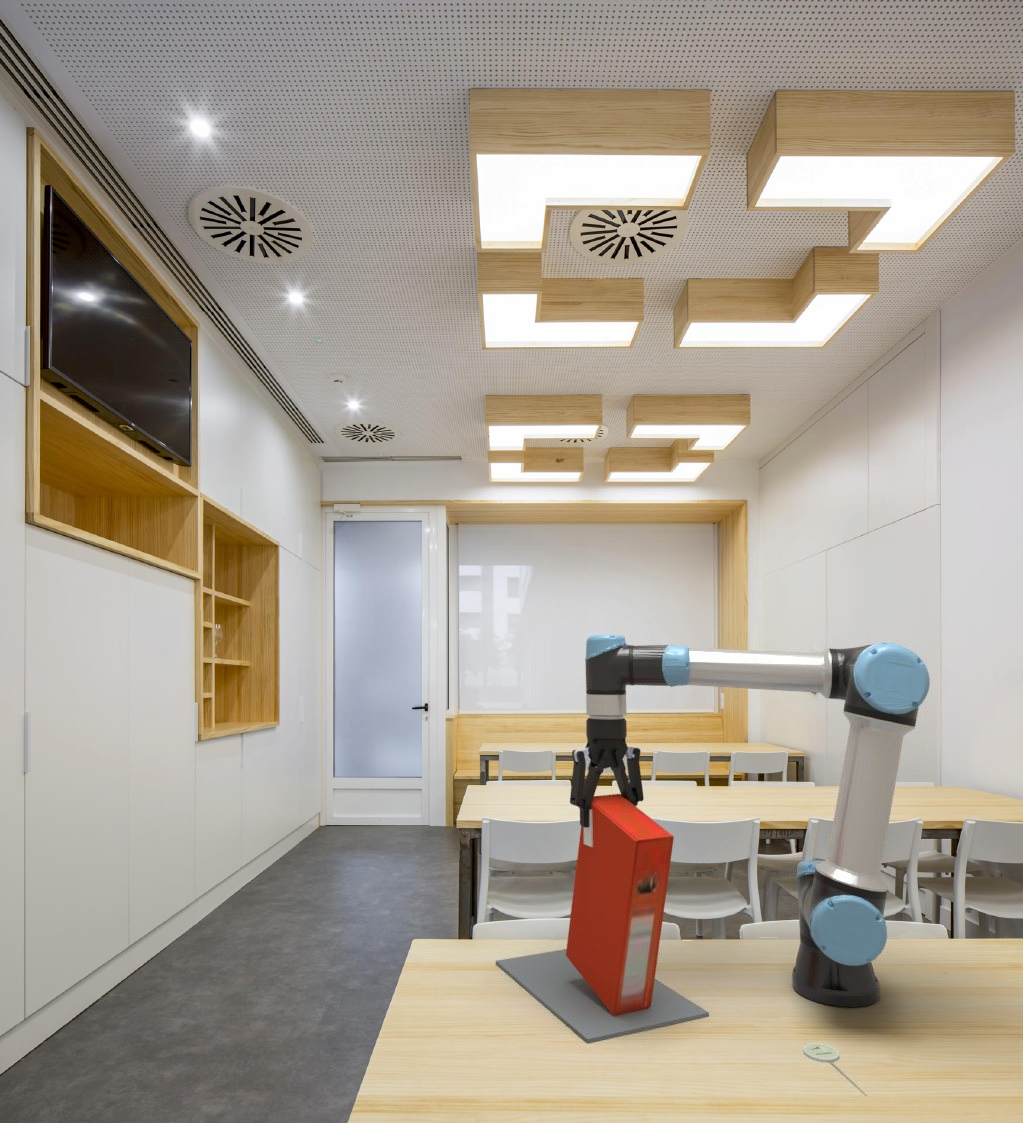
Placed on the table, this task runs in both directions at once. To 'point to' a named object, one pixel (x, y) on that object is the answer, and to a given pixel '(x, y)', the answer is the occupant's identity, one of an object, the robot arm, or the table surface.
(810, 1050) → the sign
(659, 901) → the file binder
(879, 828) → the robot arm
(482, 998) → the table surface
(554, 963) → the mat
